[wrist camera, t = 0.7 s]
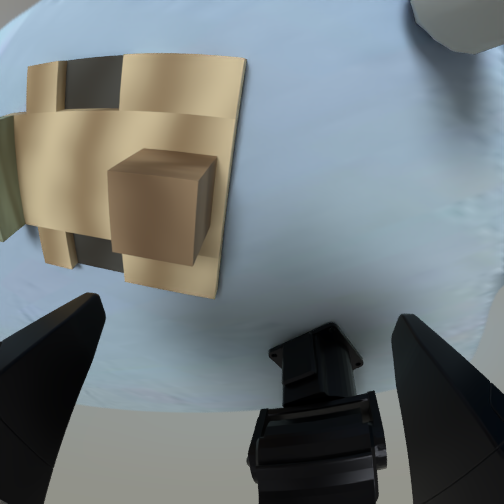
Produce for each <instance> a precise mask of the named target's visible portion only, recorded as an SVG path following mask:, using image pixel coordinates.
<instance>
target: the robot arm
mask: <svg viewBox="0 0 504 504" xmlns="http://www.w3.org/2000/svg"><path fill="white" fill-rule="evenodd" d="M105 320H106V315H105V311H104V308H103V305H102V302H101V299H100V296H99V295H98V294H96V293H85V294H83V295H81V296H79V297H77V298H75V299H74V300H72V301H70V302H68V303H66V304H65V305H63V306H61V307H59V308H58V309H56V310H54V311H52V312H51V313H49V314H47V315H45V316H44V317H42V318H40V319H38V320H37V321H35V322H33V323H31V324H30V325H28V326H26V327H25V328H23V329H21V330H19V331H18V332H16V333H14V334H13V335H11V336H9V337H8V338H6V339H4V340H3V341H2V342H0V504H44V501H45V497H46V493H47V489H48V486H49V482H50V479H51V475H52V472H53V468H54V465H55V461H56V458H57V455H58V452H59V449H60V446H61V443H62V440H63V437H64V434H65V431H66V428H67V425H68V423H69V420H70V417H71V414H72V412H73V409H74V406H75V404H76V401H77V398H78V396H79V393H80V391H81V388H82V386H83V383H84V381H85V378H86V376H87V373H88V371H89V368H90V366H91V363H92V361H93V358H94V355H95V352H96V349H97V345H98V342H99V339H100V336H101V333H102V330H103V327H104V324H105ZM330 328H333V329H330ZM391 342H392V351H393V360H394V369H395V380H396V387H397V393H398V398H399V403H400V408H401V414H402V420H403V425H404V432H405V438H406V445H407V452H408V459H409V466H410V475H411V484H412V494H413V504H504V394H503V393H502V392H501V391H500V390H499V389H498V388H497V387H496V386H495V385H494V384H493V383H490V381H489V380H488V379H487V378H486V377H485V376H484V375H483V374H482V373H480V372H479V371H478V370H477V369H476V368H475V367H474V366H473V365H472V364H470V362H468V361H467V360H466V359H465V358H464V357H463V356H462V355H461V354H459V353H458V352H457V351H456V350H455V349H454V348H453V347H452V346H450V345H449V344H448V343H447V342H446V341H445V340H444V339H442V338H441V337H440V336H439V335H438V334H437V333H435V332H434V331H433V330H432V329H431V328H430V327H428V326H427V325H426V324H425V323H424V322H423V321H421V320H420V319H419V318H418V317H417V316H415V315H414V314H401V315H400V316H399V318H398V320H397V323H396V326H395V328H394V331H393V334H392V338H391ZM269 357H270V358H271V359H272V360H273V361H274V362H275V363H276V364H277V365H278V366H279V367H280V368H282V384H283V403H282V406H283V407H284V408H276V409H268V408H266V409H261V411H260V414H259V417H258V419H257V423H256V426H255V430H254V434H253V437H252V440H251V444H250V447H249V451H248V457H247V464H248V466H249V467H250V470H251V474H252V478H253V479H254V481H255V483H257V484H258V491H259V504H376V501H377V499H378V496H379V492H378V478H377V470H381V469H385V468H387V454H386V444H385V437H384V430H383V426H382V421H381V417H380V412H379V408H378V404H377V399H376V395H375V391H374V390H373V391H369V392H367V393H365V394H361V395H356V389H355V383H354V377H353V371H352V370H354V369H356V368H359V367H361V366H362V365H363V359H362V357H361V356H360V355H359V353H358V352H357V351H356V349H355V348H354V347H353V345H352V344H351V343H350V342H349V340H348V339H347V338H346V336H345V335H344V334H343V332H342V331H341V330H340V328H339V327H338V326H337V324H335V323H333V322H332V323H328V324H326V325H323V326H321V327H319V328H317V329H315V330H313V331H311V332H308V333H306V334H304V335H302V336H300V337H297V338H295V339H293V340H291V341H288V342H286V343H284V344H281V345H279V346H277V347H274V348H272V349H270V350H269Z"/></svg>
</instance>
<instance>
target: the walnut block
mask: <svg viewBox="0 0 504 504" xmlns="http://www.w3.org/2000/svg"><path fill="white" fill-rule="evenodd" d="M216 164H217V156H212V155H204V154H196V153H187V152H178V151H168V150H158V149H147V148H143V149H141V150H140V151H138V152H136V153H135V154H133V155H131V156H130V157H128V158H126V159H125V160H123V161H122V162H120V163H118V164H117V165H115V166H114V167H112V168H111V169H109V170H107V180H108V203H109V218H110V231H111V242H112V252H115V253H121V254H126V255H131V256H136V257H142V258H147V259H153V260H158V261H163V262H169V263H174V264H180V265H186V266H191V267H193V265H194V263H195V260H196V258H197V256H198V253H199V251H200V249H201V246H202V244H203V242H204V239H205V237H206V235H207V233H208V230H209V228H210V223H211V212H212V202H213V192H214V182H215V173H216Z"/></svg>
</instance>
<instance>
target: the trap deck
mask: <svg viewBox="0 0 504 504" xmlns="http://www.w3.org/2000/svg"><path fill="white" fill-rule="evenodd" d="M246 62H247V59H245V58H239V57H229V56H217V55H202V54H177V53H145V54H124V55H119V56H105V57H94V58H84V59H76V60H68V61H56V62H50V63H44V64H39V65H34V66H29V67H28V72H27V103H26V111H27V112H19V113H11V114H8V115H5V116H2V117H0V241H1V242H4V241H5V240H7V239H8V238H9V237H10V236H11V235H13V234H14V233H15V232H16V231H17V230H19V229H20V228H21V227H22V226H24V225H25V224H28V225H33V226H38V231H39V236H40V241H41V245H42V250H43V255H44V259H45V263H48V264H52V265H56V266H60V267H64V268H68V269H73V268H74V267H75V266H76V264H77V263H81V264H85V265H90V266H94V267H99V268H104V269H108V270H113V271H118V272H122V273H124V277H125V282H129V283H134V284H139V285H143V286H148V287H153V288H158V289H163V290H168V291H173V292H178V293H183V294H189V295H194V296H200V297H205V298H211V299H215V296H216V293H217V289H218V279H219V270H220V260H221V251H222V242H223V233H224V224H225V216H226V207H227V199H228V191H229V183H230V175H231V167H232V159H233V152H234V144H235V137H236V130H237V122H238V115H239V108H240V101H241V95H242V88H243V81H244V75H245V68H246ZM143 148H147V149H158V150H168V151H178V152H187V153H196V154H204V155H212V156H217V164H216V173H215V182H214V192H213V202H212V212H211V223H210V228H209V230H208V233H207V235H206V237H205V239H204V242H203V244H202V246H201V249H200V251H199V253H198V256H197V258H196V260H195V263H194V265H193V267H191V266H186V265H180V264H174V263H169V262H163V261H158V260H153V259H147V258H142V257H136V256H131V255H126V254H121V253H115V252H112V242H111V231H110V218H109V203H108V180H107V170H109V169H111V168H112V167H114V166H115V165H117V164H118V163H120V162H122V161H123V160H125V159H126V158H128V157H130V156H131V155H133V154H135V153H136V152H138V151H140V150H141V149H143Z"/></svg>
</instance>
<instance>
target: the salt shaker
mask: <svg viewBox="0 0 504 504" xmlns="http://www.w3.org/2000/svg"><path fill="white" fill-rule="evenodd" d="M410 3H411V6H412V9H413V13H414V18H415V23H416V24H418V25H419V26H420V27H421V28H423V29H424V30H425V31H426V32H427V33H428V34H429V35H430V36H431V37H432V38H433V39H434V40H435V41H437V42H439V43H440V44H442V45H443V46H445V47H447V48H448V49H450V50H451V51H454V52H461V53H468V54H474V55H475V54H478V53H480V52H483V51H486V50H489V49H491V48H494V47H497V46H500V45H503V44H504V0H410Z"/></svg>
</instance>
